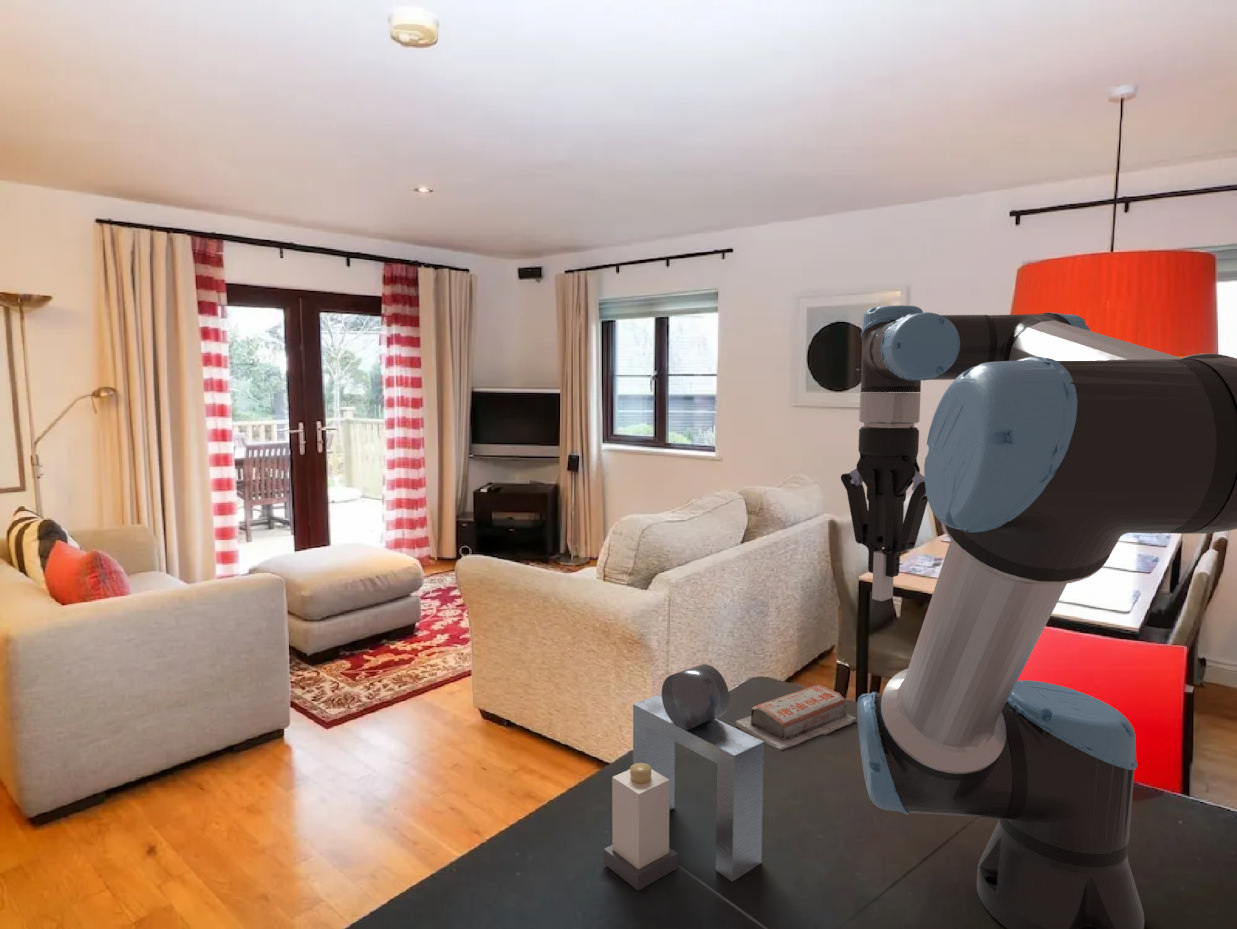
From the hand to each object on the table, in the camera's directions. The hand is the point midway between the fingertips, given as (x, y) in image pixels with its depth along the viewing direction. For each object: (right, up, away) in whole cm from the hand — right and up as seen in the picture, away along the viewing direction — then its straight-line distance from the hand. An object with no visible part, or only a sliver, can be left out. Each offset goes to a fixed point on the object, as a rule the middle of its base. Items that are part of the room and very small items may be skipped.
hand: (882, 598), depth 100 cm
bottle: (-34, -28, -16) cm, 46 cm away
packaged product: (-7, -25, +20) cm, 33 cm away
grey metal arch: (-27, -28, -10) cm, 40 cm away
